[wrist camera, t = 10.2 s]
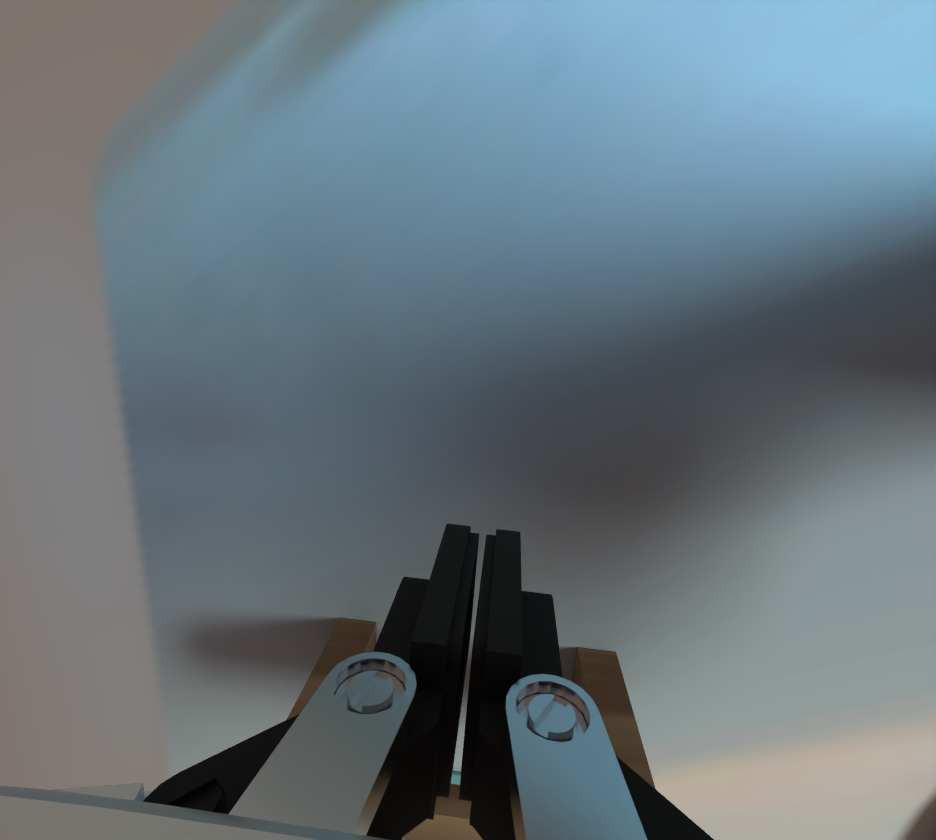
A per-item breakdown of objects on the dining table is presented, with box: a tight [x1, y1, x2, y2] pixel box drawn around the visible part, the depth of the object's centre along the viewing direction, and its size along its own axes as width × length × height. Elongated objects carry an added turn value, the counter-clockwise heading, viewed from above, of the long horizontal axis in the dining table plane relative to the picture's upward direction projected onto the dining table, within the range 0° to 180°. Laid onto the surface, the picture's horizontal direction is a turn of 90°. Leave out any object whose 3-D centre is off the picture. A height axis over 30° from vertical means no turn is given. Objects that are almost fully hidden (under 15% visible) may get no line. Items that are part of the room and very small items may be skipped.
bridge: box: [287, 618, 655, 840], centre depth 22 cm, size 3×15×10 cm, turn 86°
